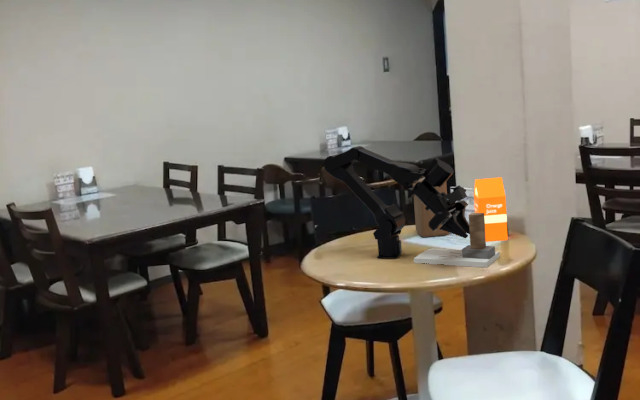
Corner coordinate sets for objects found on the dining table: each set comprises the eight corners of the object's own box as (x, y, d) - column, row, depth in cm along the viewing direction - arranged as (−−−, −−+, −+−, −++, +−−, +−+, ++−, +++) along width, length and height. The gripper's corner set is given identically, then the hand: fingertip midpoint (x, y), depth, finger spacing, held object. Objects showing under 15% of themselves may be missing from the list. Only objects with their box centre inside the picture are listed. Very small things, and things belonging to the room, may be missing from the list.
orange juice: (475, 237, 224) (472, 178, 221) (502, 234, 223) (499, 175, 220) (480, 242, 216) (477, 181, 213) (508, 240, 216) (505, 178, 212)
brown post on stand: (462, 257, 194) (459, 215, 192) (468, 253, 198) (466, 211, 196) (489, 259, 190) (486, 216, 188) (495, 254, 194) (492, 212, 192)
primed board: (414, 263, 199) (413, 257, 198) (429, 252, 209) (429, 248, 208) (486, 267, 187) (486, 262, 187) (499, 256, 197) (499, 251, 197)
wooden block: (415, 232, 239) (411, 177, 236) (443, 229, 240) (439, 174, 236) (421, 238, 229) (417, 180, 226) (450, 235, 230) (446, 177, 227)
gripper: (436, 183, 187) (476, 223, 183) (459, 173, 202) (497, 210, 198) (412, 211, 192) (451, 250, 188) (437, 199, 208) (473, 235, 203)
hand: (469, 235), depth 194 cm, fingers open, 4 cm apart
